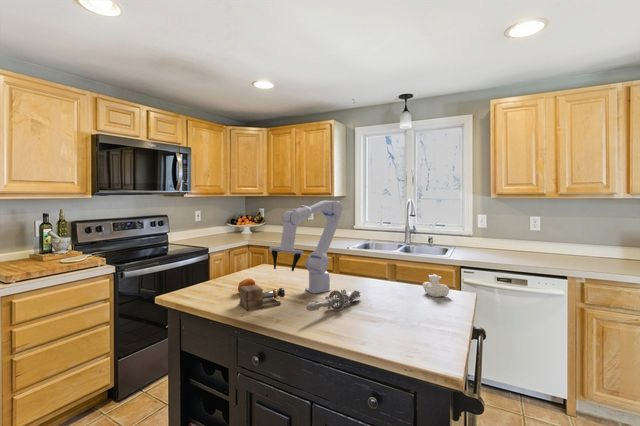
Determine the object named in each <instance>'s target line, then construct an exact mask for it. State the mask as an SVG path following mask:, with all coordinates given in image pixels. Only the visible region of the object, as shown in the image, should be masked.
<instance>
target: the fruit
mask: <svg viewBox="0 0 640 426" xmlns="http://www.w3.org/2000/svg"><path fill="white" fill-rule="evenodd" d="M250 285H256V281H255V280H254V279H253V278H250V277H249V278H245V279H242V280H240V281H239V284H238V287H237V290H238V293H240V287H243V286H250Z"/></svg>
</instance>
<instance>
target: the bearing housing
mask: <svg viewBox="0 0 640 426" xmlns="http://www.w3.org/2000/svg"><path fill="white" fill-rule="evenodd" d="M263 291H264V290H263V288H262V287H261V286H259V285H258V284H255V285H250V286H243V287H240V292H239V299H240V300H239V305H240V306H241V307H242V308H243V309H244V310H245V312H252V311H258V310H262V309H263V310H264V309H267V308H269V309H270V308H273V307H277V306H281V303H280V301H278V300H276V298H274V297H271V298H265V299H263V293H264V292H263Z"/></svg>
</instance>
